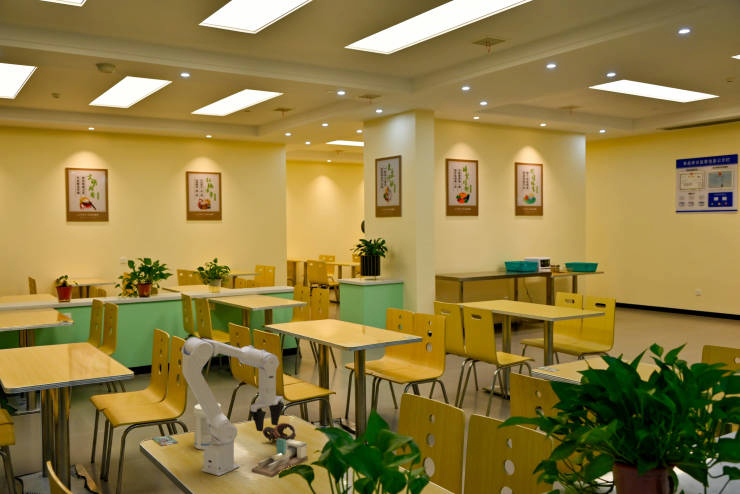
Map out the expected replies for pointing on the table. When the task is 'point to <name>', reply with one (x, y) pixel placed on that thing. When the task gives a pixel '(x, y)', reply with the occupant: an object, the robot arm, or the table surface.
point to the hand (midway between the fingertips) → (267, 427)
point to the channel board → (276, 465)
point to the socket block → (298, 447)
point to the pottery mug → (279, 432)
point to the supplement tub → (201, 428)
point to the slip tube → (283, 451)
